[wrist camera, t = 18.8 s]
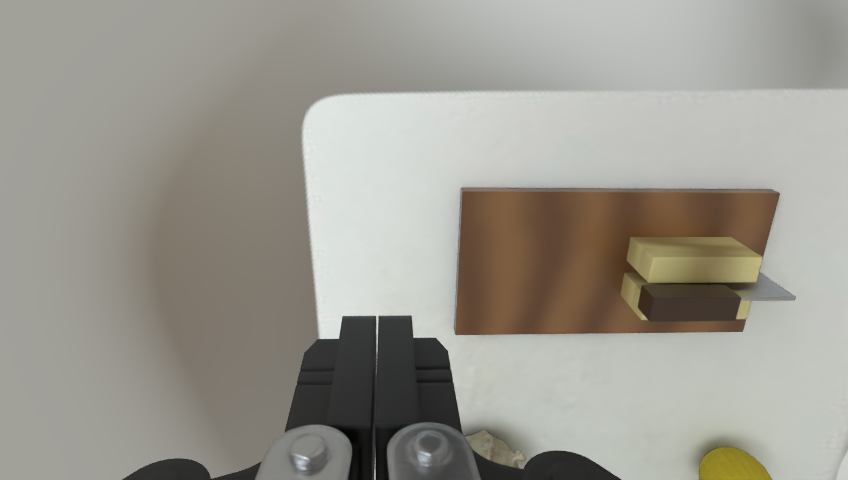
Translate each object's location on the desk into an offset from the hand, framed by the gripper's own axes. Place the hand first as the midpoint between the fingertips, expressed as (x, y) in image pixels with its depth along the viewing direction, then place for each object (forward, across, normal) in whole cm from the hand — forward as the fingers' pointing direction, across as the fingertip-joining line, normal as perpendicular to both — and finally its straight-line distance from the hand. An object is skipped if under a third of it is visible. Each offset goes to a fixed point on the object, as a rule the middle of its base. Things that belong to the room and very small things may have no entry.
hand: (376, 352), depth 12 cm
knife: (+28, -23, +11) cm, 38 cm away
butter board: (+29, -18, +11) cm, 36 cm away
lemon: (+29, -30, +30) cm, 52 cm away
